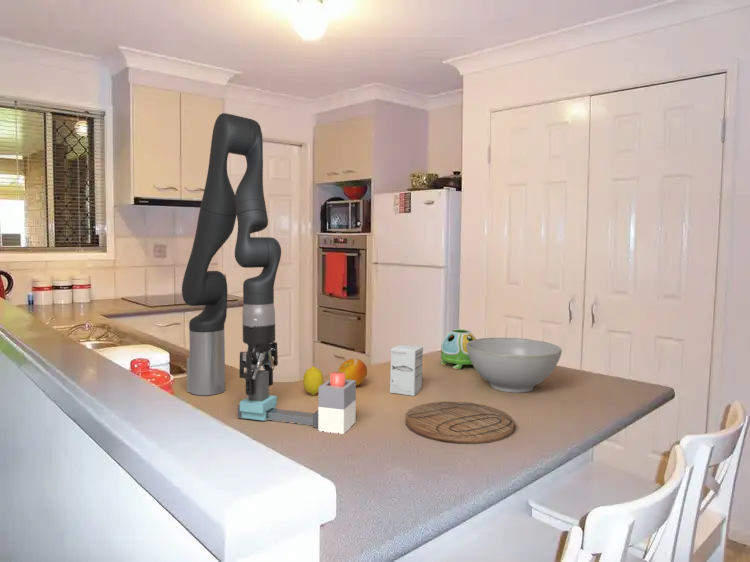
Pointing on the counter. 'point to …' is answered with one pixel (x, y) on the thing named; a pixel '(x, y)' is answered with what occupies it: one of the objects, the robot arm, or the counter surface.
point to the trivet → (459, 422)
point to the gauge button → (337, 379)
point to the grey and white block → (337, 407)
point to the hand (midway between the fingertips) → (259, 390)
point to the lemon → (312, 380)
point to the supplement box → (406, 369)
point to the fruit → (354, 370)
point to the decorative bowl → (513, 362)
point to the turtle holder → (456, 348)
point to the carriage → (259, 399)
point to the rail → (290, 416)
